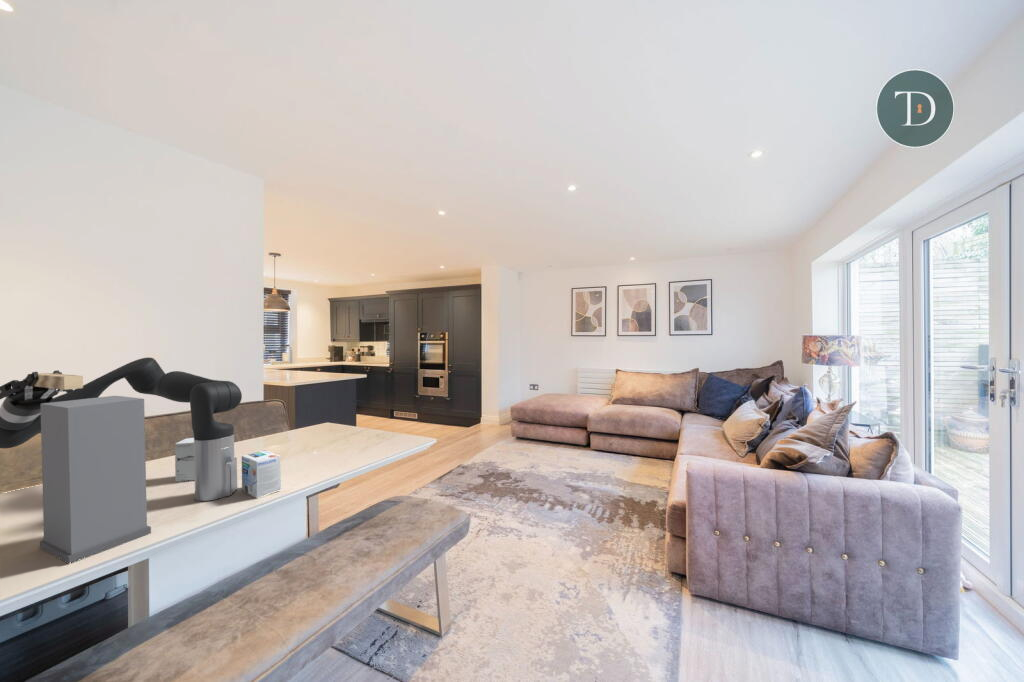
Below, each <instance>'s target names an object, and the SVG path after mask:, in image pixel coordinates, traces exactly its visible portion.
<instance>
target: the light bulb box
mask: <svg viewBox="0 0 1024 682" xmlns="http://www.w3.org/2000/svg"><path fill="white" fill-rule="evenodd" d="M281 456H282V455H279V454H276V453H273V452H271V451H267V450H259V451H256V452H252V453H249V454H244V455H241V491H242V490H243V491H242V492H244V491H245V492H244V493H246V492H247V493H246V494H248V493H249V494H250V496H251V495H252V496H251V497H253V496H254V497H253V498H255V497H256V498H255V499H259V498H258V497H261V496H264V495H266V494H268V493H271V492H274V491H277V490H280V489H281V490H282V483H281V482H282V480H281V476H282V475H281V471H282V470H281ZM249 494H248V495H249ZM264 497H265V496H264ZM261 498H262V497H261Z"/></svg>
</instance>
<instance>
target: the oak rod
mask: <svg viewBox="0 0 1024 682" xmlns="http://www.w3.org/2000/svg"><path fill="white" fill-rule="evenodd" d="M52 373H53V372H52ZM52 373H51V372H41V373H38V377H39V379H38V381H37V382H36V384H35V385H34V386H36V387H45V388H53V389H62V390H67V389H73V390H75V389H78V388H83V385H84V375H77V374H64V373H62V374H52ZM29 374H30V373H27V375H29Z"/></svg>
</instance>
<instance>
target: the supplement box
mask: <svg viewBox="0 0 1024 682" xmlns="http://www.w3.org/2000/svg"><path fill="white" fill-rule="evenodd" d="M174 446H175V447H174V449H175V450H174V451H175V452H174V456H175V457H174V460H175V462H174V463H175V464H174V466H175V467H174V468H175V472H174V475H175V476H174V477H175V479H174V480H175V483H177V482H188V480H189V481H195V469H194V437H187V438H184V439H182V440H180V441H178V442H176V443H174Z"/></svg>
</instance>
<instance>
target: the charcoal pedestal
mask: <svg viewBox="0 0 1024 682" xmlns="http://www.w3.org/2000/svg"><path fill="white" fill-rule="evenodd" d="M40 405H41V432H40V434H41V435H40V436H41V476H42V477H41V478H42V481H41V482H42V484H41V485H42V518H43V520H42V521H43V540H40V541H39V549H41V550H42V551H45V552H46V553H48V554H50V555H51V554H52V556H53V557H55V556H56V557H55V558H57V557H58V558H57V559H59V558H60V559H59V560H61V559H62V560H61V561H63V560H64V561H66V562H68V563H70V562H73V561H76V560H79V559H81V558H84V557H87V558H89V557H92V556H94V555H97V554H99V553H102V552H105V551H108V550H109V549H112V548H115V546H116V547H118V546H120V544H121V545H124V544H126V543H129V542H132V541H133V540H137V539H139V538H142V537H145V536H147V535H150V534H152V526H149V525H148V513H147V512H148V511H147V508H148V507H147V505H148V504H147V471H146V469H147V468H146V465H147V463H146V425H145V424H146V423H145V416H146V415H145V398H140V397H133V396H132V397H131V396H121V395H109V396H101V397H100V396H99V397H98V398H89V399H79V400H70V401H61V402H51V403H42V404H40ZM149 533H150V534H149ZM123 543H124V544H123ZM117 545H118V546H117ZM91 555H92V556H91ZM88 556H89V557H88ZM84 559H85V558H84ZM81 560H82V559H81ZM64 561H63V562H64ZM79 561H80V560H79ZM66 562H65V563H66ZM76 562H77V561H76ZM68 563H67V564H68ZM73 563H74V562H73Z"/></svg>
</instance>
